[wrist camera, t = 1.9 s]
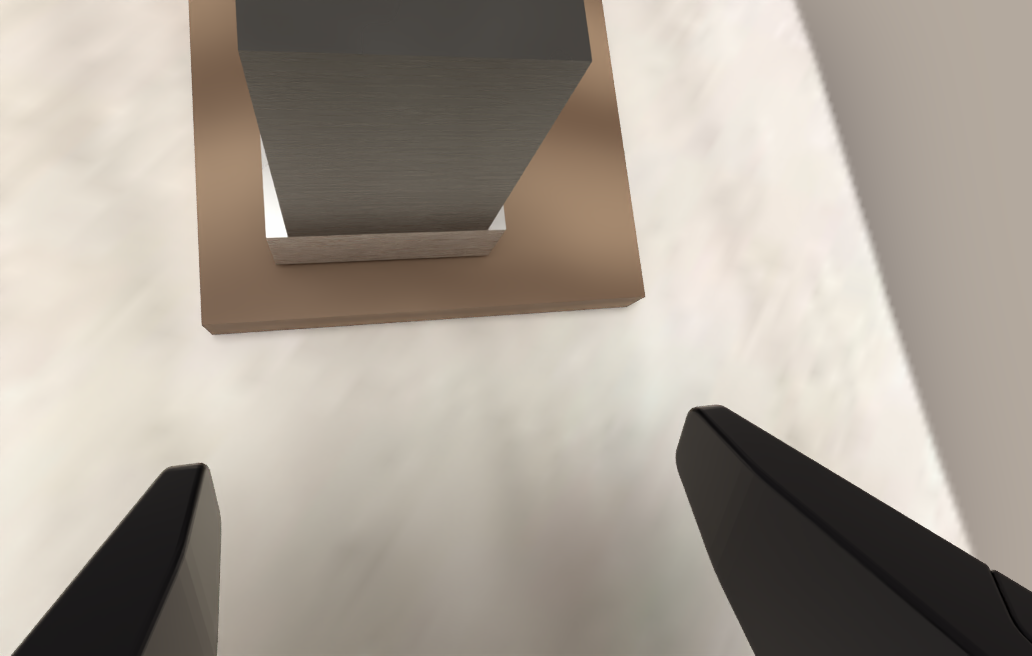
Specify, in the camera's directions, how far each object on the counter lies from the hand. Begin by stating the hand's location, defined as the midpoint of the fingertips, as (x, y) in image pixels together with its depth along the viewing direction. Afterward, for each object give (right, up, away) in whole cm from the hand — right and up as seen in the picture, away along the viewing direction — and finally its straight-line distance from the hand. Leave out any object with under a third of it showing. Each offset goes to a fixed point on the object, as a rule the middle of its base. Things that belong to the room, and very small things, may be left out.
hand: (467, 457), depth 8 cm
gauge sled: (-3, +6, +12) cm, 14 cm away
